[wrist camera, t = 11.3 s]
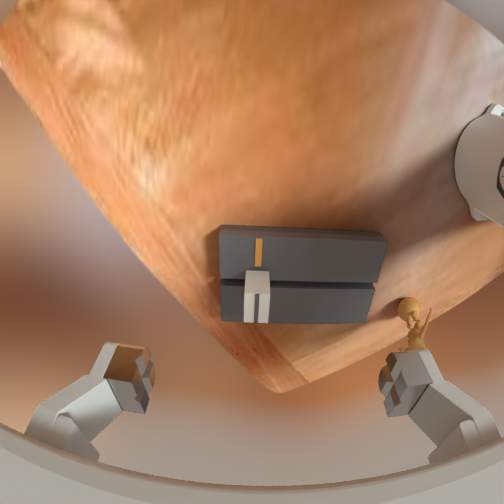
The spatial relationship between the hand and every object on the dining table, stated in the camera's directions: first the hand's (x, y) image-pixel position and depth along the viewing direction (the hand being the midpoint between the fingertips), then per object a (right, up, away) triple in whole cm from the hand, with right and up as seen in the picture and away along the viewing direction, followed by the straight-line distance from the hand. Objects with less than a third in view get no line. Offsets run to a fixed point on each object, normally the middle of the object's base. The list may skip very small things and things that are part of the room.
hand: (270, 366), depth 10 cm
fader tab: (0, 0, +33) cm, 33 cm away
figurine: (+24, -4, +37) cm, 44 cm away
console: (+6, +1, +35) cm, 35 cm away
